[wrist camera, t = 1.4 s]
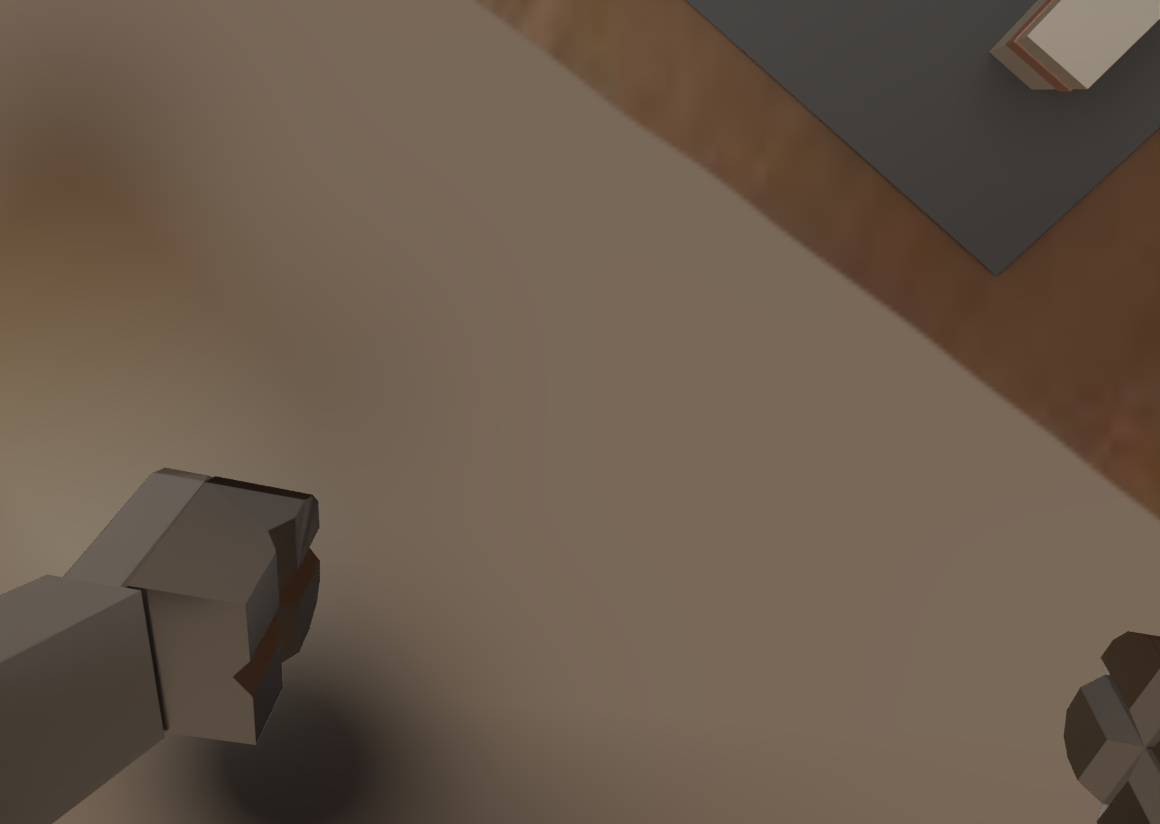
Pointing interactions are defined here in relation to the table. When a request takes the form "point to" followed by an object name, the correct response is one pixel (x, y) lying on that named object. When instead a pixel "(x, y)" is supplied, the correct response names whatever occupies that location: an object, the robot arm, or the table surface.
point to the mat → (952, 107)
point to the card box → (1073, 40)
